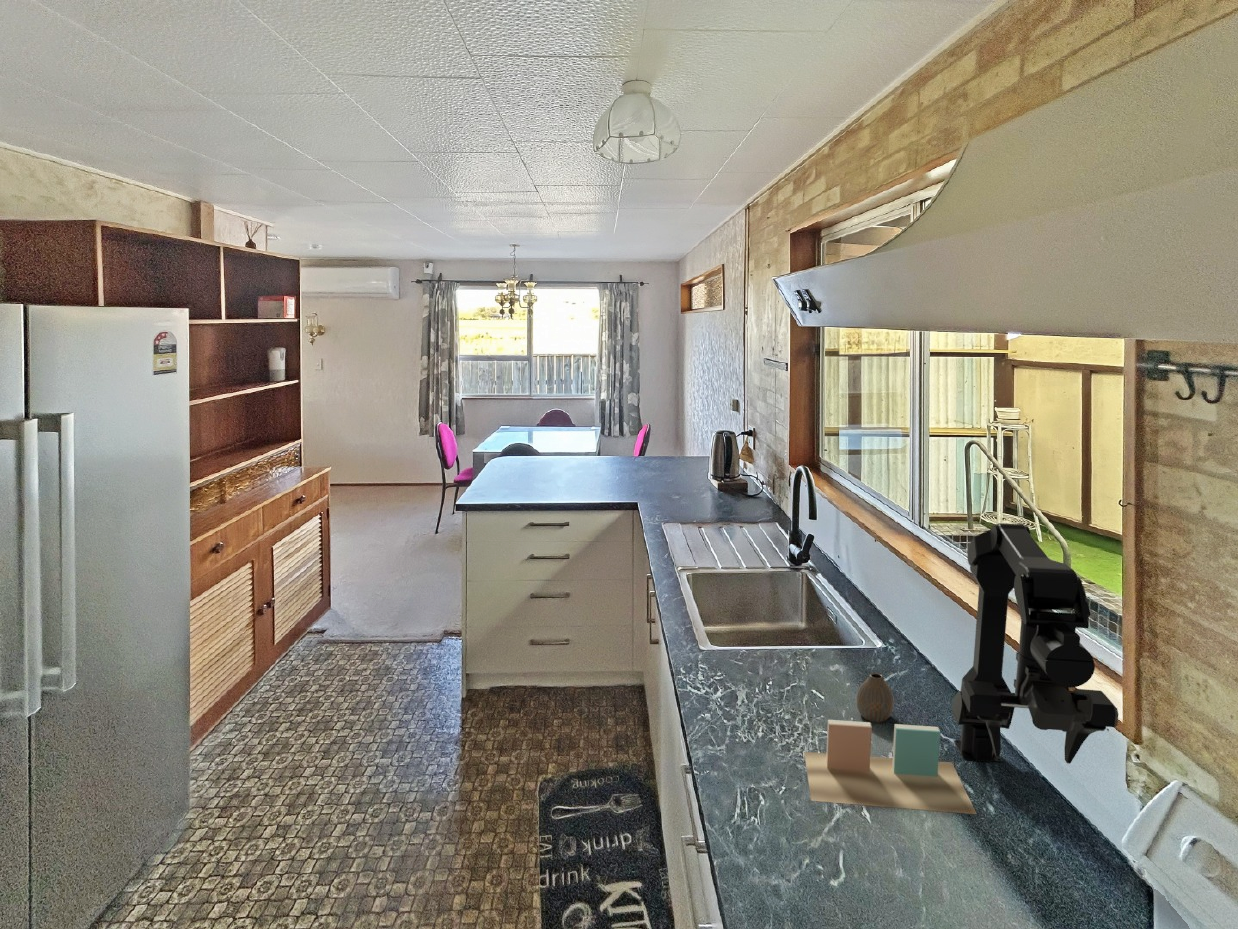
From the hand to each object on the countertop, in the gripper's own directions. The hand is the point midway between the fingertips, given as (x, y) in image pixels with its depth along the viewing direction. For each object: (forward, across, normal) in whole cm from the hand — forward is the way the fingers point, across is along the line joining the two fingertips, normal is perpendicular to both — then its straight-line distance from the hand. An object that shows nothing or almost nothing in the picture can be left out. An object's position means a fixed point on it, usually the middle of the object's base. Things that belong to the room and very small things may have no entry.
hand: (1032, 758), depth 112 cm
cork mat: (+14, -18, +14) cm, 27 cm away
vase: (+15, -17, +37) cm, 43 cm away
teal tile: (+14, -12, +18) cm, 26 cm away
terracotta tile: (+14, -23, +17) cm, 32 cm away
